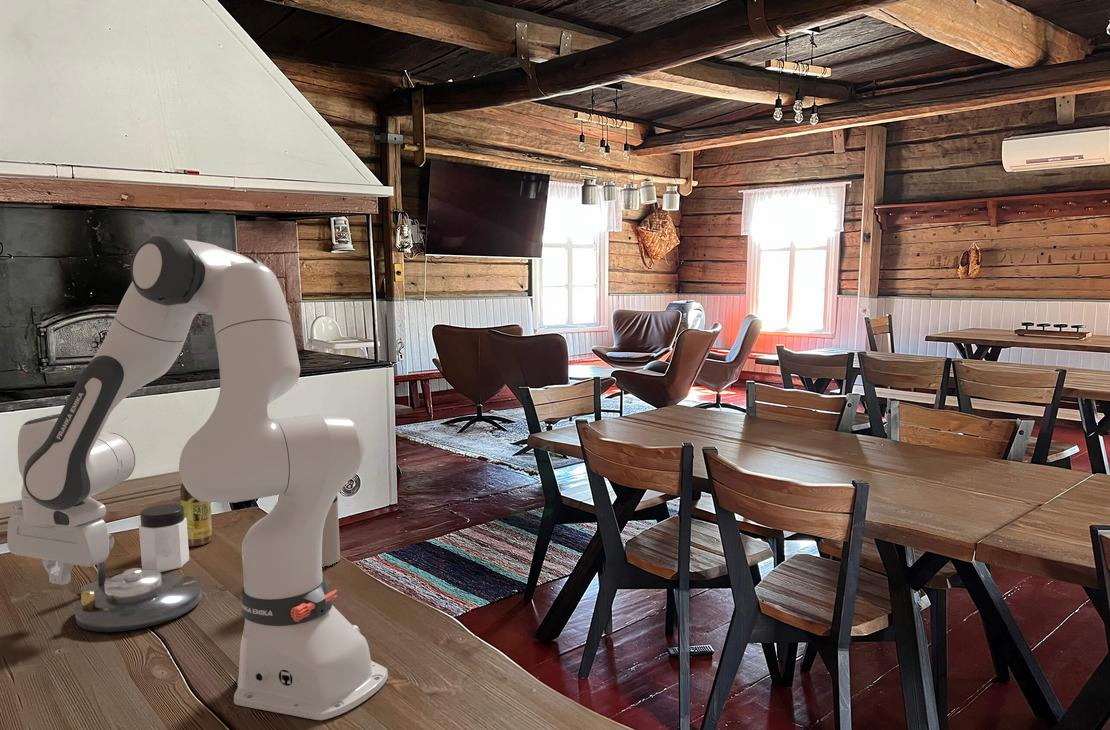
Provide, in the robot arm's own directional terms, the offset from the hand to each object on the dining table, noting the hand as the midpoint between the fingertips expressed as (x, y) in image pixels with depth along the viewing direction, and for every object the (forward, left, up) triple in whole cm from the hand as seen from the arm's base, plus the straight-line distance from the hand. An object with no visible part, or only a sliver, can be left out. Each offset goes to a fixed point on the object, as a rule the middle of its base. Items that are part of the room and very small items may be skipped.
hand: (60, 582), depth 134 cm
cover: (-8, -8, -4) cm, 12 cm away
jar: (+7, -24, -7) cm, 26 cm away
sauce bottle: (+13, -36, -7) cm, 39 cm away
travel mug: (-21, -40, -7) cm, 46 cm away
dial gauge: (+5, -10, -6) cm, 13 cm away
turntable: (-9, -9, -7) cm, 14 cm away
